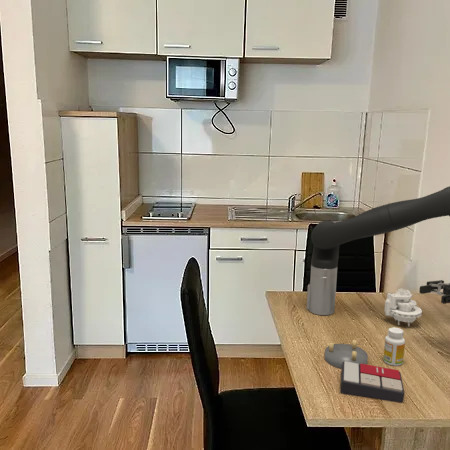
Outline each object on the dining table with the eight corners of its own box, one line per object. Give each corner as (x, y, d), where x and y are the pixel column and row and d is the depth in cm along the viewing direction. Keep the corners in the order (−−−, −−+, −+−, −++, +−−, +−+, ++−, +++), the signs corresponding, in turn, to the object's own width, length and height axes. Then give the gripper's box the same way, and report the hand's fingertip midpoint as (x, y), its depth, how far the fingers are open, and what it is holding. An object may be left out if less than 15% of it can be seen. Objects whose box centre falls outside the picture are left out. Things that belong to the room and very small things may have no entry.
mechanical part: (415, 332, 155) (418, 298, 153) (379, 323, 162) (382, 290, 160) (424, 321, 164) (428, 289, 161) (390, 313, 171) (392, 282, 169)
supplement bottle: (402, 358, 137) (405, 327, 135) (403, 367, 132) (406, 335, 130) (383, 355, 139) (386, 325, 137) (383, 364, 134) (385, 332, 132)
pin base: (316, 358, 136) (317, 344, 135) (339, 346, 144) (340, 332, 144) (353, 374, 128) (354, 359, 127) (375, 360, 136) (376, 345, 135)
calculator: (405, 390, 114) (342, 378, 118) (402, 406, 115) (340, 394, 119) (400, 369, 125) (343, 358, 128) (398, 383, 126) (341, 372, 129)
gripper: (456, 270, 146) (414, 275, 141) (496, 284, 133) (451, 290, 128) (454, 293, 148) (412, 298, 142) (493, 309, 135) (448, 316, 129)
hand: (431, 294), depth 135 cm, fingers open, 8 cm apart
